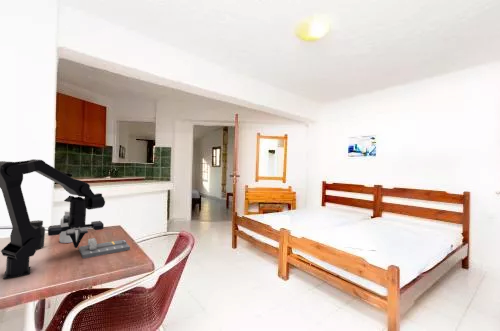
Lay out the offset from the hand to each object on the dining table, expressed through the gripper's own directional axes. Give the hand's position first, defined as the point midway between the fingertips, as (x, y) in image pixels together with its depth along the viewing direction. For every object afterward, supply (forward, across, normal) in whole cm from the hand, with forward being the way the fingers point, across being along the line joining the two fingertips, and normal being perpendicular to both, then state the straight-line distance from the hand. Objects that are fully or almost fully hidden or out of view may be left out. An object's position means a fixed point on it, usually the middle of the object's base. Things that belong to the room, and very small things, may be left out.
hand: (75, 247), depth 100 cm
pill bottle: (+3, 0, -23) cm, 23 cm away
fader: (+1, -6, 0) cm, 6 cm away
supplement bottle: (+3, +13, -19) cm, 23 cm away
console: (+3, -11, 0) cm, 11 cm away
